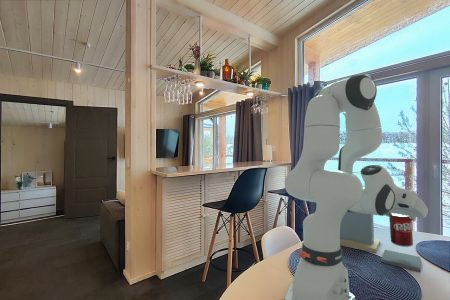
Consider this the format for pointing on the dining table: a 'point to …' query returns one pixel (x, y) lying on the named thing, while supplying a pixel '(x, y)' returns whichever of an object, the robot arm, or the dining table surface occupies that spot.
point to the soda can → (401, 230)
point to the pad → (401, 260)
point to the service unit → (358, 231)
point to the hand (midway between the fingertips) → (400, 217)
